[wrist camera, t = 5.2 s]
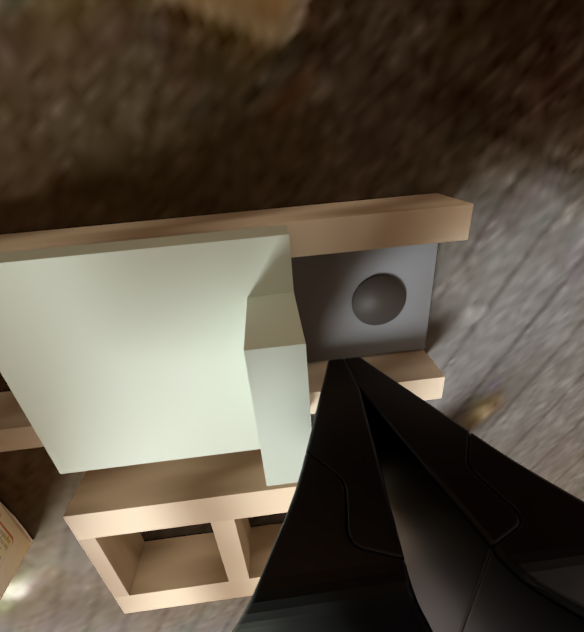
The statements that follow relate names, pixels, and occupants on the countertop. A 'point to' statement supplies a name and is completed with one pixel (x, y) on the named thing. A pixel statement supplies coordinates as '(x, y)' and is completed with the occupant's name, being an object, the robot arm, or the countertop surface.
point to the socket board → (175, 511)
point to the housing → (318, 282)
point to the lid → (159, 350)
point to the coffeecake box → (11, 546)
